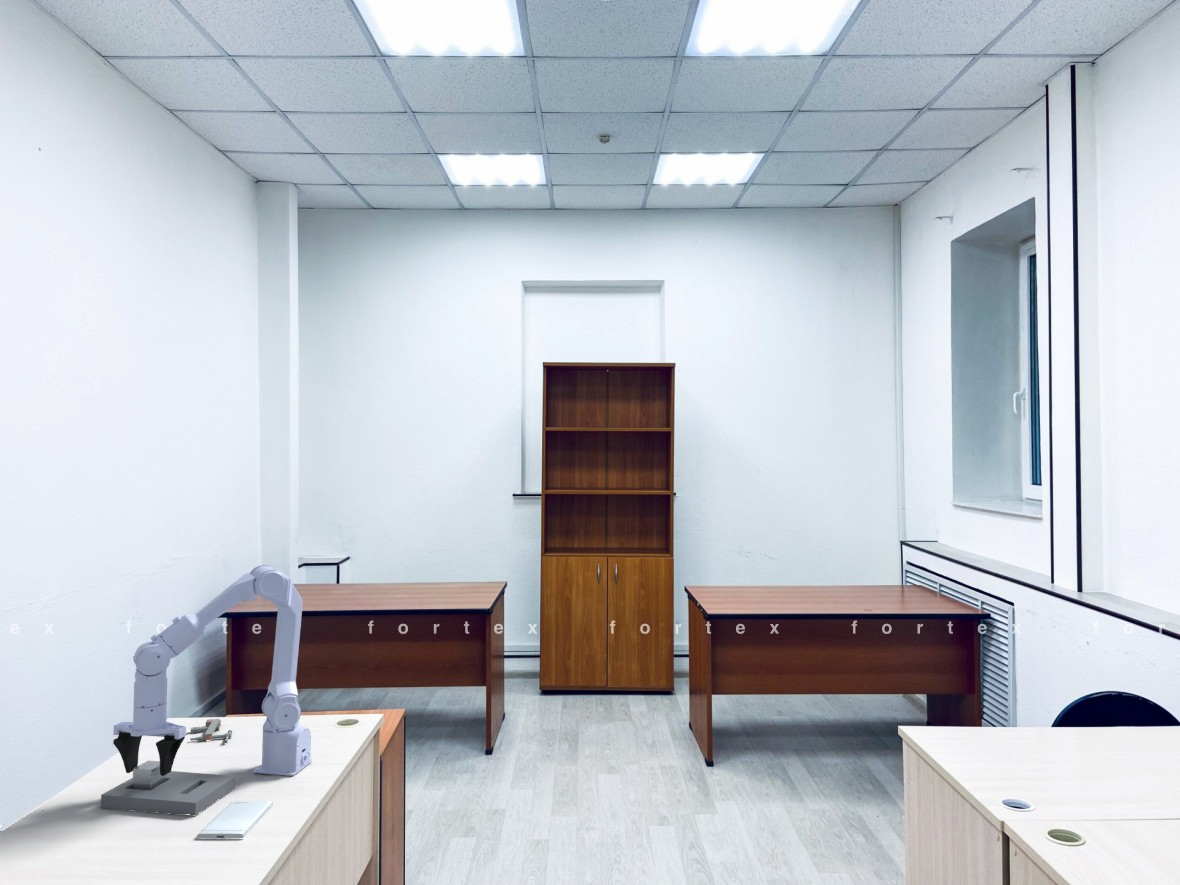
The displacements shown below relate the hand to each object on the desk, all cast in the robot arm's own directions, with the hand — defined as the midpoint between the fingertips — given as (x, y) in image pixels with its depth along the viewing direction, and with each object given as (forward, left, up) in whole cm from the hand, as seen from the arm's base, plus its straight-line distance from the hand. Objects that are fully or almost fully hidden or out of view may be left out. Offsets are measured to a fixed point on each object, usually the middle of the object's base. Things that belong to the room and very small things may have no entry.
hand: (148, 772), depth 144 cm
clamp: (+9, -31, -5) cm, 33 cm away
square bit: (0, 0, -5) cm, 5 cm away
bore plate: (-5, 0, -5) cm, 7 cm away
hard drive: (-24, +7, -5) cm, 25 cm away
